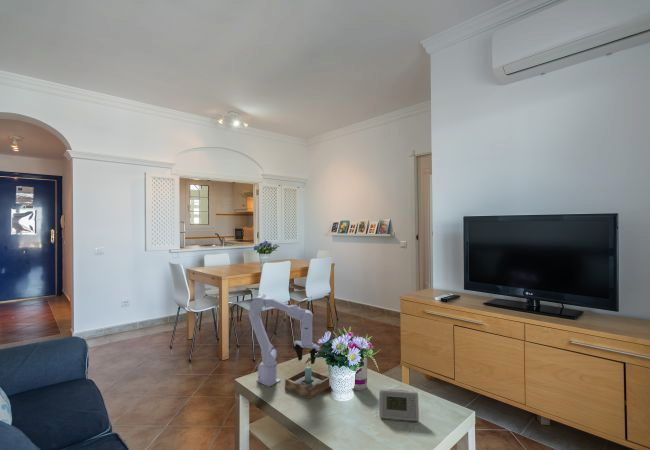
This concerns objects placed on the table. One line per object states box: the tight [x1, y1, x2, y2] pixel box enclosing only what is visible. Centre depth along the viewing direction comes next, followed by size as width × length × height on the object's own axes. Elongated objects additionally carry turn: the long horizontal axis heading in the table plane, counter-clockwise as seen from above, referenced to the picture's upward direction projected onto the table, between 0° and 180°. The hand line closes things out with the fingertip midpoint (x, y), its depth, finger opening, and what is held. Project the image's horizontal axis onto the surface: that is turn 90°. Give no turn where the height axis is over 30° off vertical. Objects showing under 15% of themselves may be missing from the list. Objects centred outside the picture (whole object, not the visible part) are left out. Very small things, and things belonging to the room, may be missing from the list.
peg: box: [304, 366, 313, 384], centre depth 165 cm, size 3×3×9 cm
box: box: [284, 368, 330, 400], centre depth 165 cm, size 16×16×4 cm
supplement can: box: [353, 357, 368, 391], centre depth 166 cm, size 8×8×15 cm
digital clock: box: [378, 388, 420, 422], centre depth 141 cm, size 16×9×11 cm, turn 71°
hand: (306, 361), depth 170 cm, fingers open, 7 cm apart
